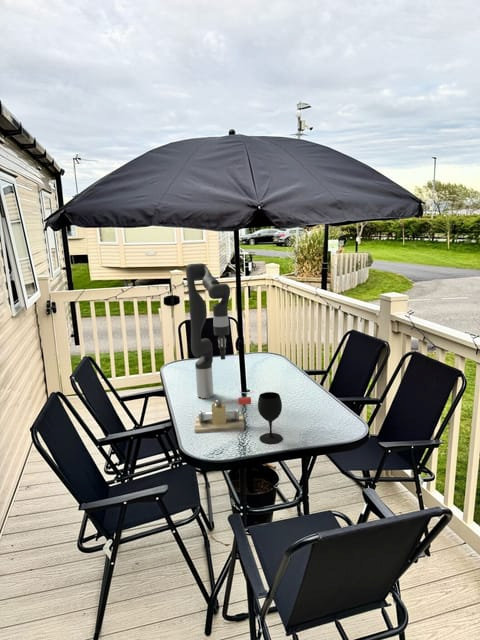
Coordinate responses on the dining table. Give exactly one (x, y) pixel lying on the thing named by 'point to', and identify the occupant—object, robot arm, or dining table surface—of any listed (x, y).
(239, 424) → the mounting board
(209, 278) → the robot arm
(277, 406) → the wine glass
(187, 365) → the dining table surface
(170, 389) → the dining table surface
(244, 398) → the lever
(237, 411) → the valve
